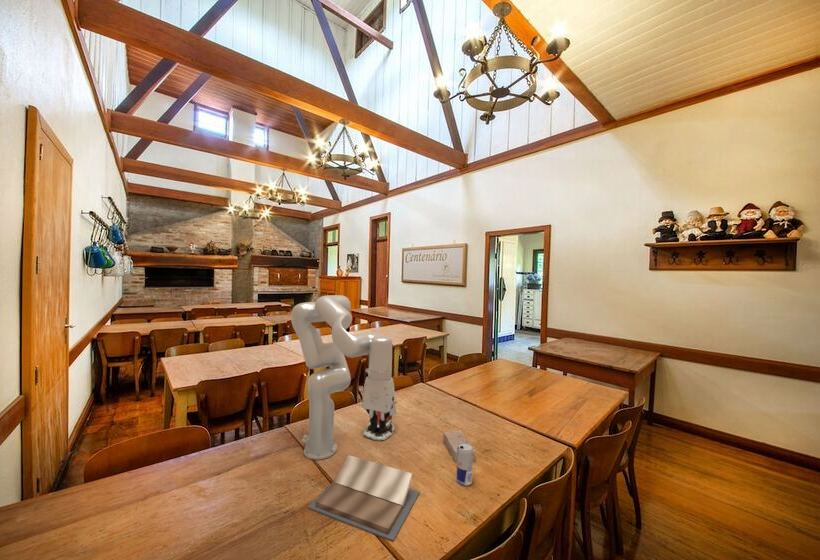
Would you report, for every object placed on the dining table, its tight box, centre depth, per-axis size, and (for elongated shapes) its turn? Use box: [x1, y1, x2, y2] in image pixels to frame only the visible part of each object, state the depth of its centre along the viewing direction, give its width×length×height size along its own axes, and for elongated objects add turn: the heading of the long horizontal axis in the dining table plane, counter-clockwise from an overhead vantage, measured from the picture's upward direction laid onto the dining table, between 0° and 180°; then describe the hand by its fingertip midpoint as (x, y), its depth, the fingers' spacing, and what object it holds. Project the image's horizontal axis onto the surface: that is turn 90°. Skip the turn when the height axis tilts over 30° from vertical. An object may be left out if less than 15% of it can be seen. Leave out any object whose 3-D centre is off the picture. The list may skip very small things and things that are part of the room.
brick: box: [442, 430, 476, 464], centre depth 123 cm, size 16×8×5 cm, turn 11°
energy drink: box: [455, 443, 474, 487], centre depth 105 cm, size 5×5×12 cm
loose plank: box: [335, 454, 414, 507], centre depth 98 cm, size 24×9×2 cm
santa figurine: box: [363, 399, 398, 442], centre depth 137 cm, size 17×14×25 cm
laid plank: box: [316, 483, 402, 534], centre depth 90 cm, size 24×9×2 cm, turn 68°
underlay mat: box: [307, 477, 421, 542], centre depth 94 cm, size 28×20×1 cm
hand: (378, 429), depth 100 cm, fingers closed
